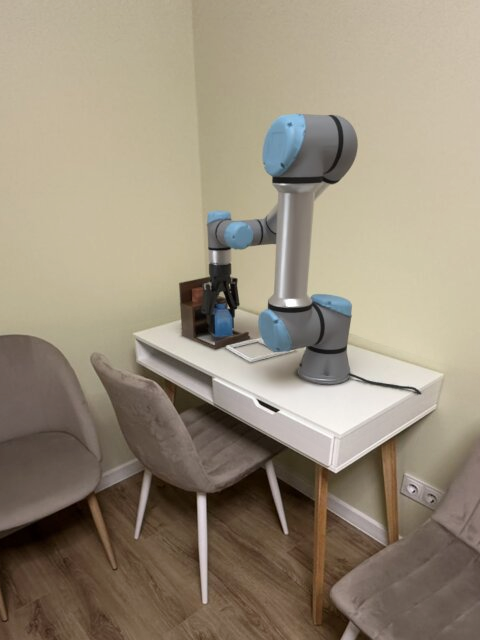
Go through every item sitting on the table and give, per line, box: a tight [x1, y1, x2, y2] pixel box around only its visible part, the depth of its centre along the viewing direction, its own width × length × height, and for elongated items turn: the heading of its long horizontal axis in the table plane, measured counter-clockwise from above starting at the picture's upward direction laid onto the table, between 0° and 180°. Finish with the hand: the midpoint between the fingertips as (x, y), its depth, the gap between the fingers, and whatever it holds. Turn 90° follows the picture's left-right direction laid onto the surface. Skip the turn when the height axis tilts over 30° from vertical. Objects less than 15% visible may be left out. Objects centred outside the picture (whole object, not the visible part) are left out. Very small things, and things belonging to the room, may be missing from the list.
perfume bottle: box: [211, 297, 234, 338], centre depth 164 cm, size 6×6×12 cm
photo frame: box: [225, 337, 296, 363], centre depth 159 cm, size 15×1×18 cm
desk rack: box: [178, 276, 251, 350], centre depth 166 cm, size 19×16×19 cm
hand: (221, 329), depth 167 cm, fingers closed on perfume bottle, 8 cm apart
